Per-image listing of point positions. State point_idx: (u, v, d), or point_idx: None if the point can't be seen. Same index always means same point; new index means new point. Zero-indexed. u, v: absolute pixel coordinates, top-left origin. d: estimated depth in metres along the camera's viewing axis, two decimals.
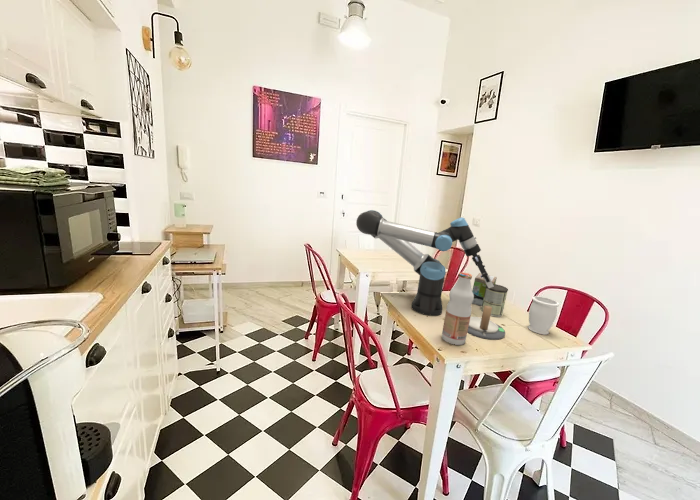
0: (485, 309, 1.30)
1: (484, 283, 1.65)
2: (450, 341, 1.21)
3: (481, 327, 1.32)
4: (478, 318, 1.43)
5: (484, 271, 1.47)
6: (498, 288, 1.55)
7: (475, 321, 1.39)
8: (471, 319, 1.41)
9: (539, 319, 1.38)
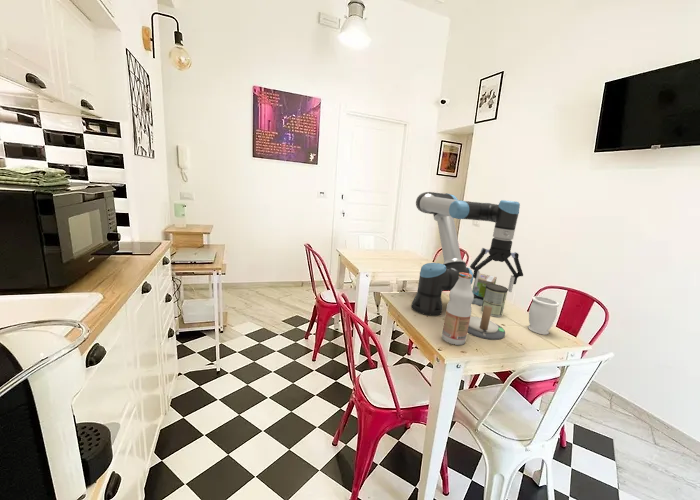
0: (485, 309, 1.30)
1: (484, 283, 1.65)
2: (450, 341, 1.21)
3: (481, 327, 1.32)
4: (478, 318, 1.43)
5: (472, 264, 1.29)
6: (498, 288, 1.55)
7: (475, 321, 1.39)
8: (471, 319, 1.41)
9: (539, 319, 1.38)
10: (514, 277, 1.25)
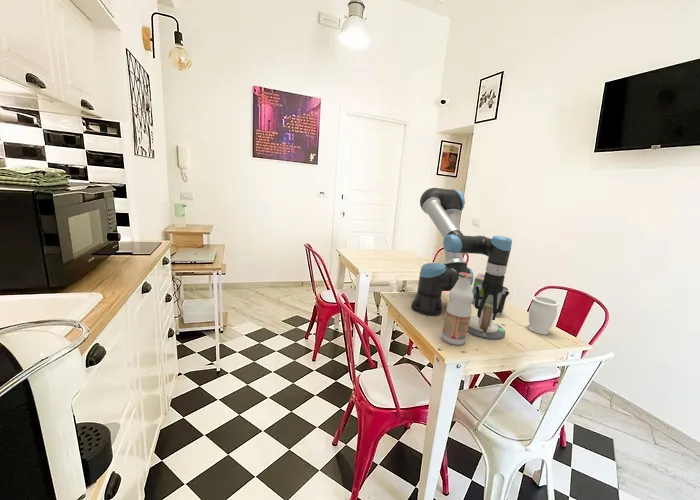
0: (485, 309, 1.30)
1: None
2: (450, 341, 1.21)
3: (481, 327, 1.32)
4: (478, 318, 1.43)
5: (475, 303, 1.31)
6: None
7: (475, 321, 1.39)
8: (471, 319, 1.41)
9: (539, 319, 1.38)
10: (493, 313, 1.29)
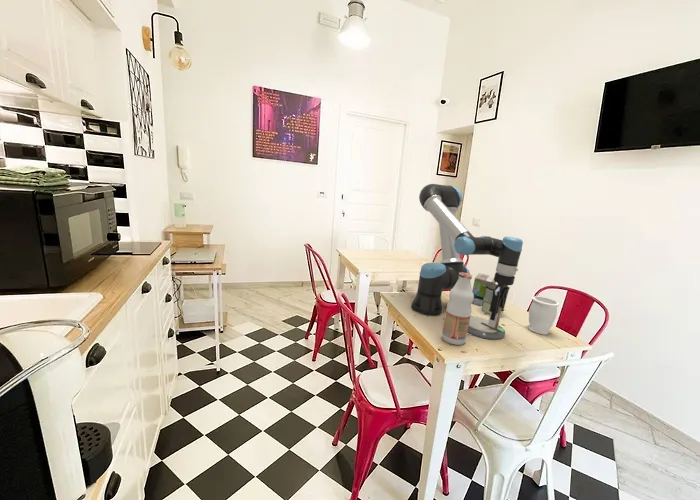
0: (498, 310, 1.30)
1: (484, 283, 1.65)
2: (450, 341, 1.21)
3: (494, 328, 1.32)
4: (470, 318, 1.42)
5: (494, 308, 1.27)
6: None
7: (476, 323, 1.37)
8: (471, 322, 1.37)
9: (539, 319, 1.38)
10: (501, 311, 1.33)
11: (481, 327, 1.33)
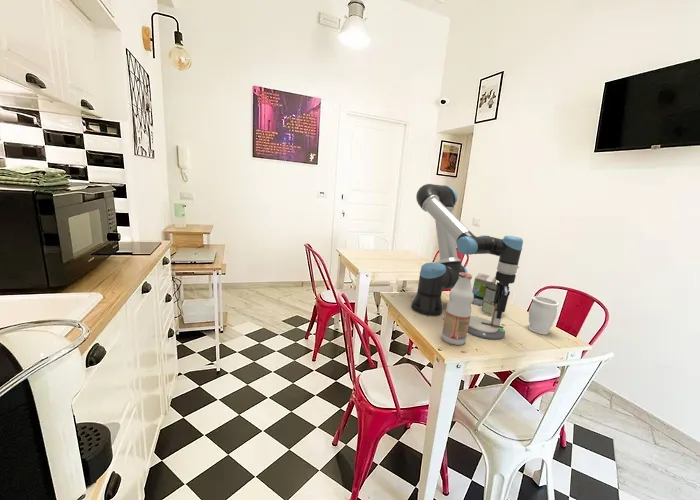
0: None
1: (484, 283, 1.65)
2: (450, 341, 1.21)
3: (498, 326, 1.35)
4: None
5: (503, 308, 1.29)
6: None
7: (480, 325, 1.36)
8: (477, 325, 1.35)
9: (539, 319, 1.38)
10: None
11: (489, 328, 1.33)
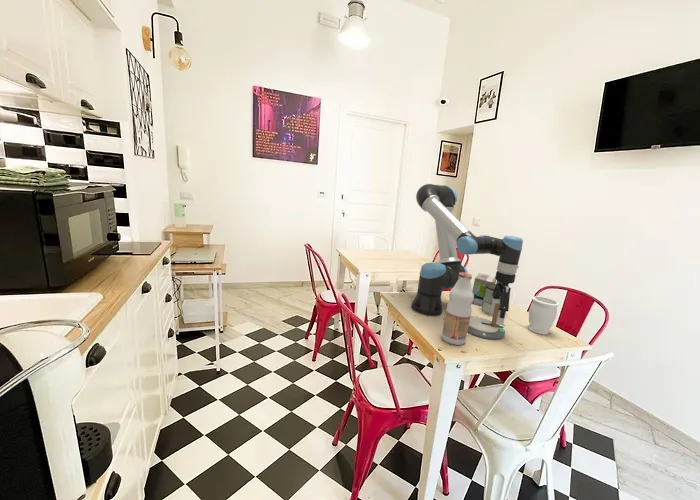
0: None
1: (484, 283, 1.65)
2: (450, 341, 1.21)
3: (498, 326, 1.35)
4: None
5: (506, 306, 1.25)
6: None
7: (480, 325, 1.36)
8: (477, 325, 1.35)
9: (539, 319, 1.38)
10: (498, 299, 1.41)
11: (489, 328, 1.33)
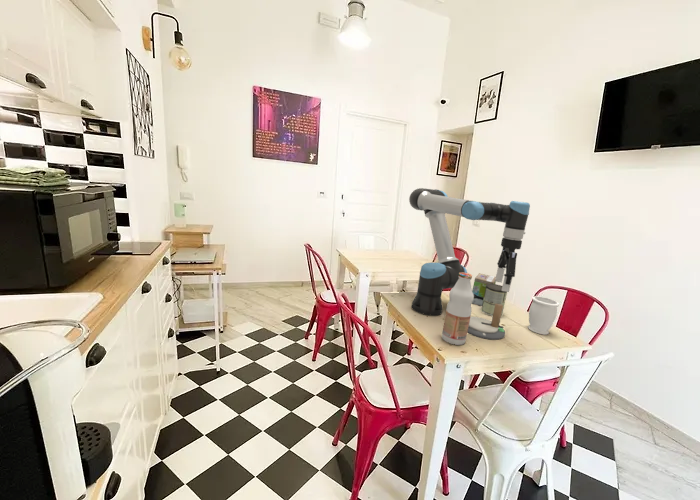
0: (502, 308, 1.33)
1: (484, 283, 1.65)
2: (450, 341, 1.21)
3: (498, 326, 1.35)
4: None
5: (513, 271, 1.22)
6: (498, 288, 1.55)
7: (480, 325, 1.36)
8: (477, 325, 1.35)
9: (539, 319, 1.38)
10: None
11: (489, 328, 1.33)
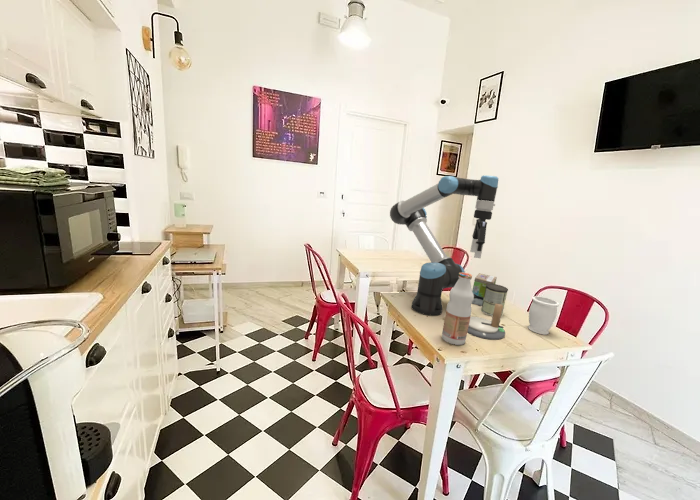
0: (502, 308, 1.33)
1: (484, 283, 1.65)
2: (450, 341, 1.21)
3: (498, 326, 1.35)
4: None
5: (483, 238, 1.35)
6: (498, 288, 1.55)
7: (480, 325, 1.36)
8: (477, 325, 1.35)
9: (539, 319, 1.38)
10: (478, 239, 1.51)
11: (489, 328, 1.33)
